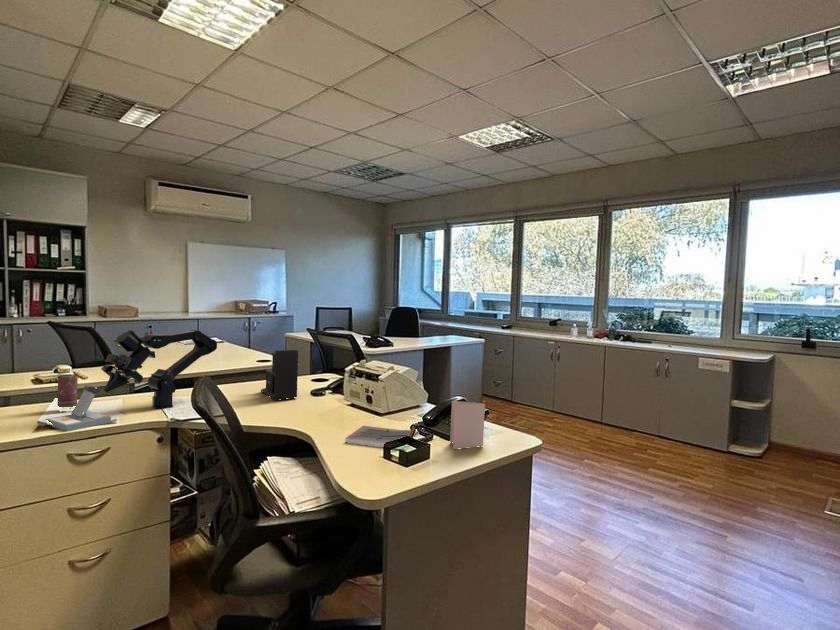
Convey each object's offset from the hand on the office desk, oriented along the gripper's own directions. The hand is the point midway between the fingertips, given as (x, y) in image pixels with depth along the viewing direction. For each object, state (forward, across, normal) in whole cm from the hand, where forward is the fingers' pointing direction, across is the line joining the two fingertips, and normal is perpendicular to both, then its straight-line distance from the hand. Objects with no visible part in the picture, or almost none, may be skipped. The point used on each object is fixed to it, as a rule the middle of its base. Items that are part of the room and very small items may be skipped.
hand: (105, 391), depth 170 cm
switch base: (+13, 0, +1) cm, 13 cm away
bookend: (-40, +21, +55) cm, 71 cm away
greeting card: (-26, +127, +40) cm, 135 cm away
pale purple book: (-19, +99, +35) cm, 107 cm away
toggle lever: (+11, 0, -1) cm, 11 cm away
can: (+9, -22, +6) cm, 24 cm away
